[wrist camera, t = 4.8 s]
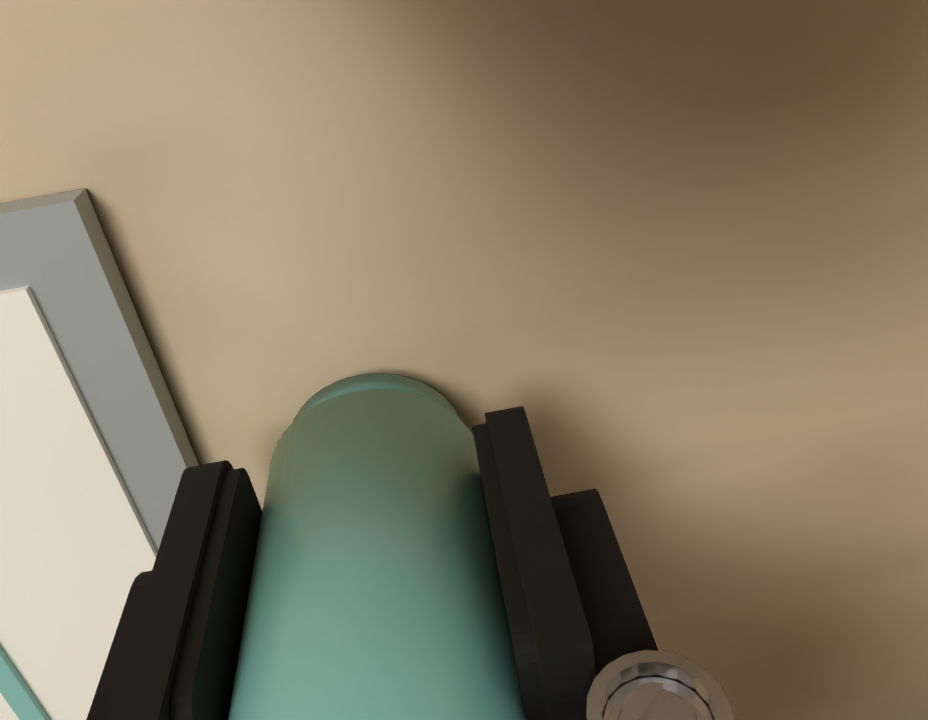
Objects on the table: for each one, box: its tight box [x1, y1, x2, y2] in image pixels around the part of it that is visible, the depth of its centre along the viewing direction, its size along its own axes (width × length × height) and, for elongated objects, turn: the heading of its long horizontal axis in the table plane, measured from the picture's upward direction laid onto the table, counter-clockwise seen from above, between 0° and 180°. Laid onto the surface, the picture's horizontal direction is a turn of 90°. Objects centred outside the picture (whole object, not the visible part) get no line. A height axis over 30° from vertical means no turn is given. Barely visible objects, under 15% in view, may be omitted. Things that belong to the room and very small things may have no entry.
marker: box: [228, 373, 527, 720], centre depth 9 cm, size 3×3×9 cm
